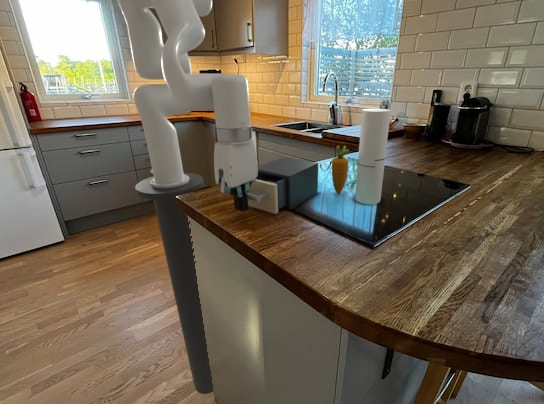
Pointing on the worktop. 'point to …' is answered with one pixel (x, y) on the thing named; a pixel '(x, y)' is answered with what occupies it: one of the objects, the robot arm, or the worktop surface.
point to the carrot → (339, 170)
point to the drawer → (268, 193)
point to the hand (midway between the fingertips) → (241, 209)
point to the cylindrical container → (372, 155)
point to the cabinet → (294, 178)
